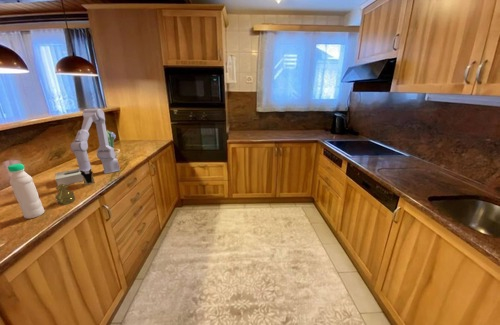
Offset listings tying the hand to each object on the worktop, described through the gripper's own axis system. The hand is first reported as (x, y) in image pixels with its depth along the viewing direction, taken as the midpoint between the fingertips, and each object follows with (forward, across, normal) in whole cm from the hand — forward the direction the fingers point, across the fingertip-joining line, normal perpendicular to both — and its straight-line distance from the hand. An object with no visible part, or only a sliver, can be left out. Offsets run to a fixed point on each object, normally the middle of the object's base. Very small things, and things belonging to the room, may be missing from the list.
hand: (89, 181), depth 134 cm
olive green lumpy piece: (+2, +20, -12) cm, 23 cm away
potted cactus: (+2, -45, +20) cm, 49 cm away
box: (+1, -15, -7) cm, 17 cm away
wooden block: (+2, 0, 0) cm, 2 cm away
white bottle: (+2, +26, -24) cm, 35 cm away
